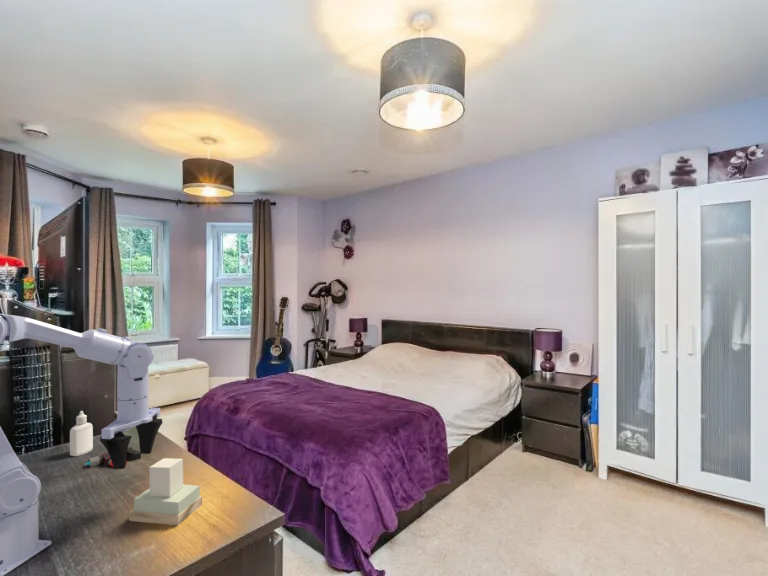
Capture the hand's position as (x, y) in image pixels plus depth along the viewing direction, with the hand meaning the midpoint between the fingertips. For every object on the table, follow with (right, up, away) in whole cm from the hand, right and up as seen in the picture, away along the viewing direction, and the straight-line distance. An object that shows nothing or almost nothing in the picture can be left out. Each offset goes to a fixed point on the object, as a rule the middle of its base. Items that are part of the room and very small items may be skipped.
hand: (133, 460), depth 88 cm
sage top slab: (+8, -8, -2) cm, 12 cm away
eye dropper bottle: (-33, -11, +30) cm, 46 cm away
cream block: (+8, -6, -1) cm, 10 cm away
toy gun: (-19, -11, +22) cm, 31 cm away
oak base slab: (+8, -11, -1) cm, 14 cm away
